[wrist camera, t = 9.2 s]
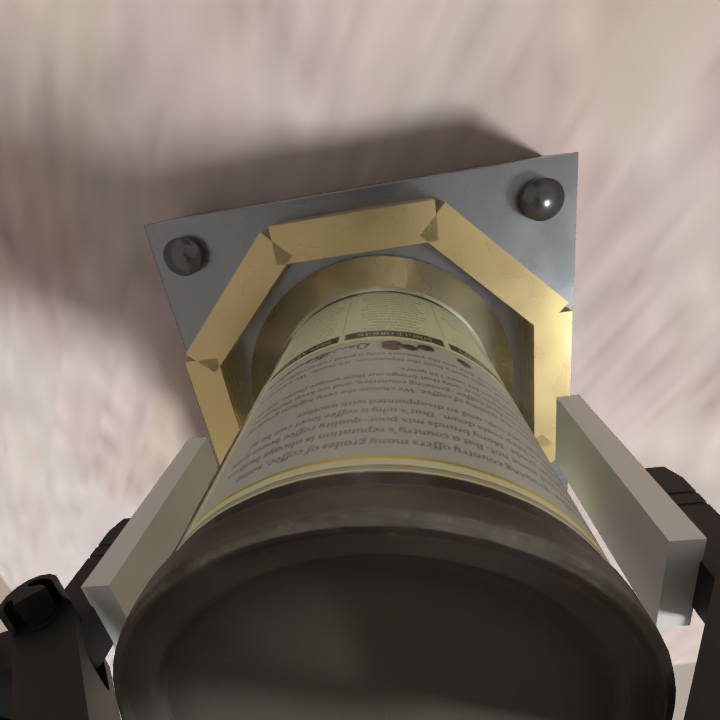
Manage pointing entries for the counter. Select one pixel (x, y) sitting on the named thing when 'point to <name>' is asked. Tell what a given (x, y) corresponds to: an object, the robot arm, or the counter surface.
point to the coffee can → (388, 551)
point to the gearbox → (382, 277)
